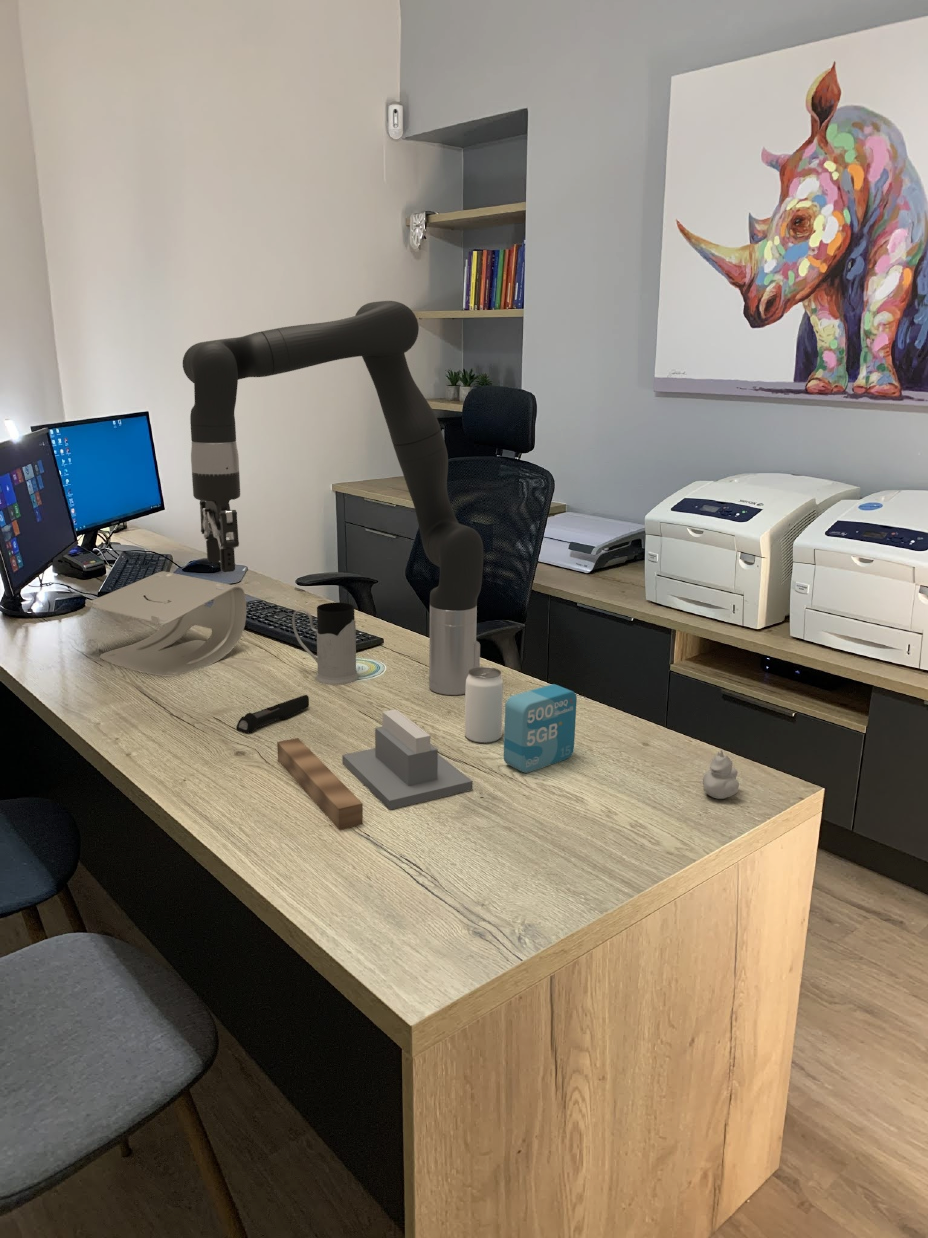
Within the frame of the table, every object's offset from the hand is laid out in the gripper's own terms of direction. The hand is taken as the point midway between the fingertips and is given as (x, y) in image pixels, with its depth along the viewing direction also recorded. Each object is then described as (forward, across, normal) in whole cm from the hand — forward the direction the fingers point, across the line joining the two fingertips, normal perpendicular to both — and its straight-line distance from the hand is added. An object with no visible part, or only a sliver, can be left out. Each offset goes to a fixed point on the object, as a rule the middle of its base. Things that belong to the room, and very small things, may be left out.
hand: (220, 566), depth 155 cm
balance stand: (+29, -32, -19) cm, 47 cm away
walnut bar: (+30, -30, -5) cm, 42 cm away
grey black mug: (+30, +18, -25) cm, 43 cm away
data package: (+30, -37, -41) cm, 63 cm away
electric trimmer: (+30, 0, -8) cm, 31 cm away
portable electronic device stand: (+30, +46, 0) cm, 55 cm away
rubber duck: (+30, -60, -59) cm, 89 cm away
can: (+30, -24, -38) cm, 54 cm away
